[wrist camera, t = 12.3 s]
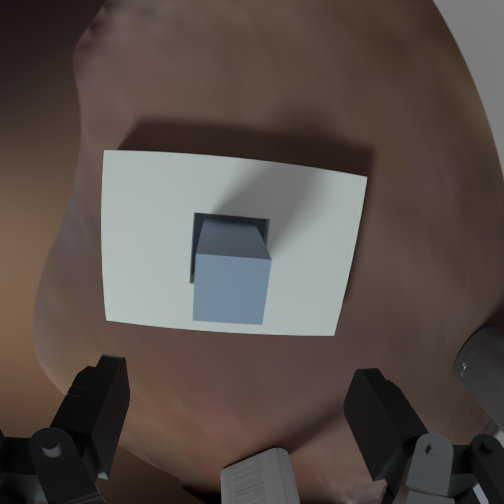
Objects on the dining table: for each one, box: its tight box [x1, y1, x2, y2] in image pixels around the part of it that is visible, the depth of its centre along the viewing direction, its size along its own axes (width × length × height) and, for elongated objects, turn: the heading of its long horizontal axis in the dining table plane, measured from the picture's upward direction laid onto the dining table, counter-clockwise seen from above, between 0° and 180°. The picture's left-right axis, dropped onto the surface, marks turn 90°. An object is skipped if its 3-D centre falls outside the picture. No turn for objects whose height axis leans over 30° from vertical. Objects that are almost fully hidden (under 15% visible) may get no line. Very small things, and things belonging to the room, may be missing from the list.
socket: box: [101, 150, 367, 336], centre depth 26 cm, size 20×14×3 cm
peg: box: [193, 218, 272, 325], centre depth 22 cm, size 4×4×9 cm
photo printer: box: [221, 448, 300, 504], centre depth 31 cm, size 10×4×12 cm, turn 126°
